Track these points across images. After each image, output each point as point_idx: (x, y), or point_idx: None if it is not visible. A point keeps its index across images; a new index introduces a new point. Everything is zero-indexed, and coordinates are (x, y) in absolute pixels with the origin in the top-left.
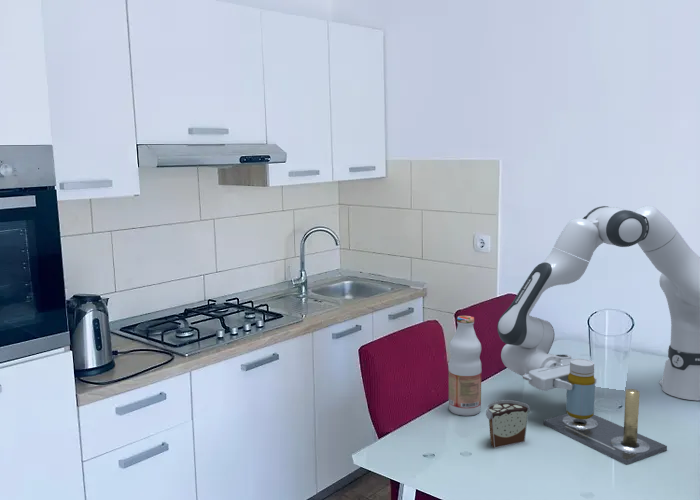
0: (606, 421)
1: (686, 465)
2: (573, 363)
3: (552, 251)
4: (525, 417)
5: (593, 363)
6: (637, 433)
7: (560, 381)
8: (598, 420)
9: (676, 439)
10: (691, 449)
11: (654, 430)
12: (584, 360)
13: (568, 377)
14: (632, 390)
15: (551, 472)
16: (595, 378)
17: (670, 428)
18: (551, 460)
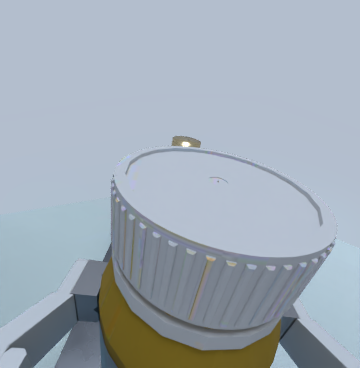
0: (82, 330)
1: None
2: (314, 196)
3: None
4: None
5: (165, 147)
6: (111, 246)
7: (351, 354)
8: (91, 354)
9: (71, 218)
10: (97, 201)
11: (44, 250)
12: (147, 186)
13: (279, 335)
14: (183, 140)
15: (333, 269)
16: (84, 259)
17: (12, 237)
18: (326, 293)
